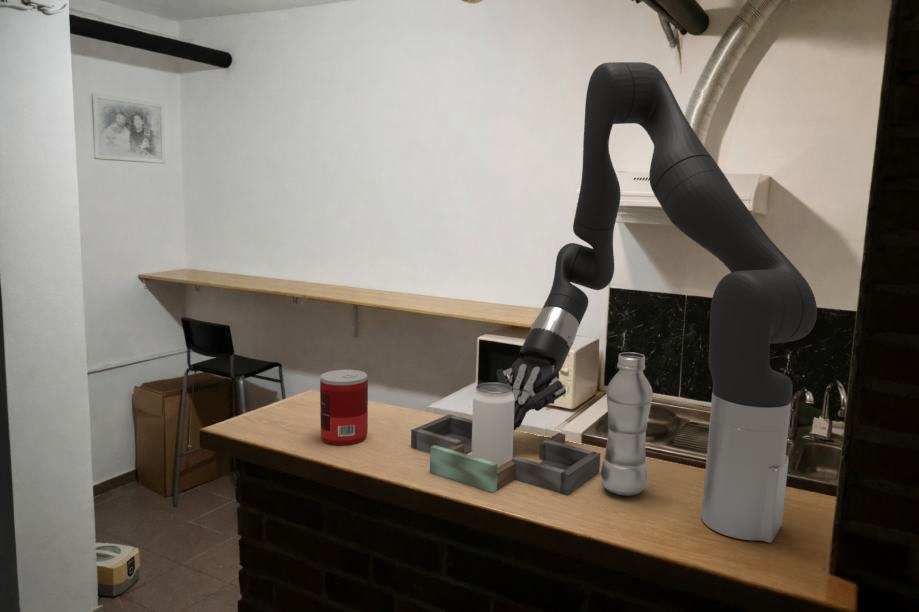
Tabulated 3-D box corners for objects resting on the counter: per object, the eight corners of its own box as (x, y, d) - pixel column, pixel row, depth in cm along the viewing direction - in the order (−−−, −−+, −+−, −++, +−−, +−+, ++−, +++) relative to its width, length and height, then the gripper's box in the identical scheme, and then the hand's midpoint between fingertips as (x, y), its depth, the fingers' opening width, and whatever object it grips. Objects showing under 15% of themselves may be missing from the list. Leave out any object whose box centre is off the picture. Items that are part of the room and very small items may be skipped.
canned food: (376, 435, 120) (377, 373, 118) (345, 449, 113) (345, 384, 112) (343, 426, 124) (342, 366, 122) (311, 439, 117) (310, 376, 116)
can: (491, 472, 106) (494, 396, 103) (462, 459, 110) (464, 386, 108) (520, 462, 110) (523, 388, 108) (491, 450, 115) (494, 379, 112)
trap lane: (613, 461, 111) (615, 437, 110) (547, 510, 94) (548, 481, 93) (466, 422, 128) (466, 401, 127) (386, 458, 110) (386, 433, 110)
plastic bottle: (595, 496, 98) (604, 358, 95) (604, 478, 104) (612, 348, 101) (642, 504, 96) (653, 363, 92) (648, 486, 102) (658, 352, 99)
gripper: (509, 321, 121) (466, 406, 113) (578, 332, 113) (537, 424, 105) (524, 346, 126) (484, 429, 118) (591, 358, 118) (552, 448, 110)
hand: (509, 427), depth 112 cm, fingers closed
